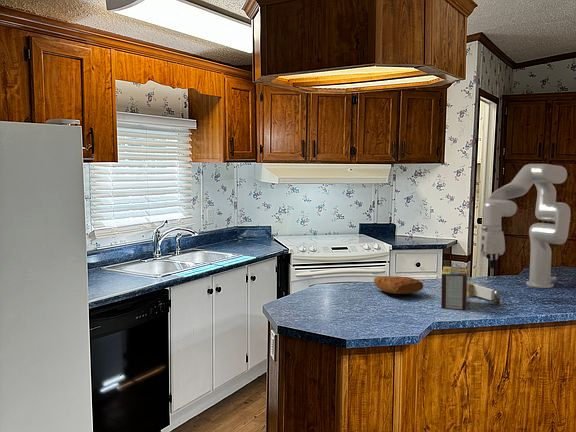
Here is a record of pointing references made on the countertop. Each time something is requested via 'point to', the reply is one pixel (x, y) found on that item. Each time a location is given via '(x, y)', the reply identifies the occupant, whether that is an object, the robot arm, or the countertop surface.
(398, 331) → the countertop surface
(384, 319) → the countertop surface
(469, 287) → the stile
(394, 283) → the cuneiform tablet
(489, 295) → the white long bar
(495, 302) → the knob on square plate
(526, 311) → the countertop surface
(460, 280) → the protein box
